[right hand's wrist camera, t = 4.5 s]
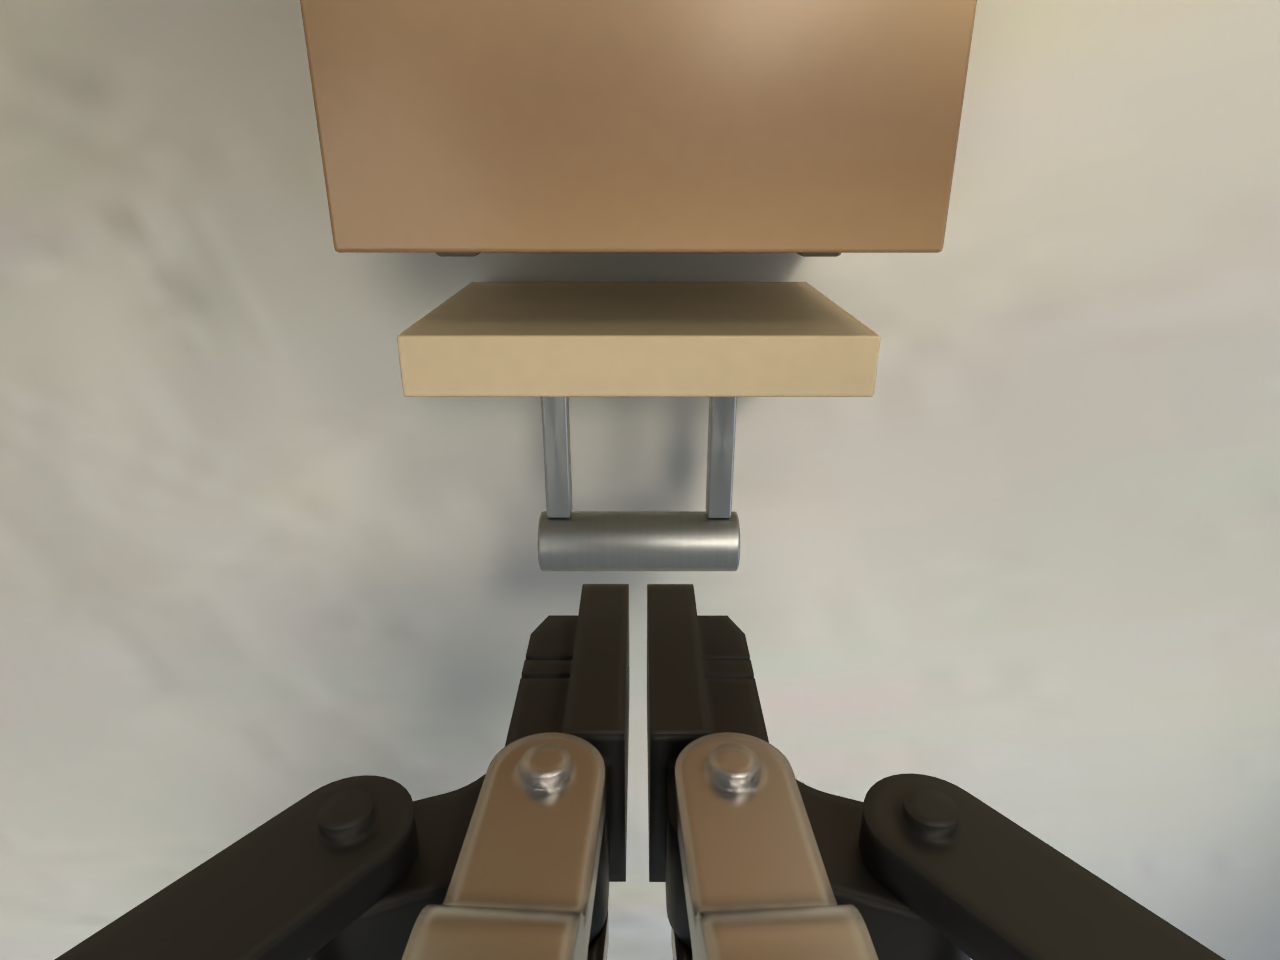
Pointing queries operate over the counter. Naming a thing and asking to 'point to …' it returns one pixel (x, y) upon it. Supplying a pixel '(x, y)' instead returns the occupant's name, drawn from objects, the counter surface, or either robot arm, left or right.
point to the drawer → (638, 385)
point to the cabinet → (638, 123)
